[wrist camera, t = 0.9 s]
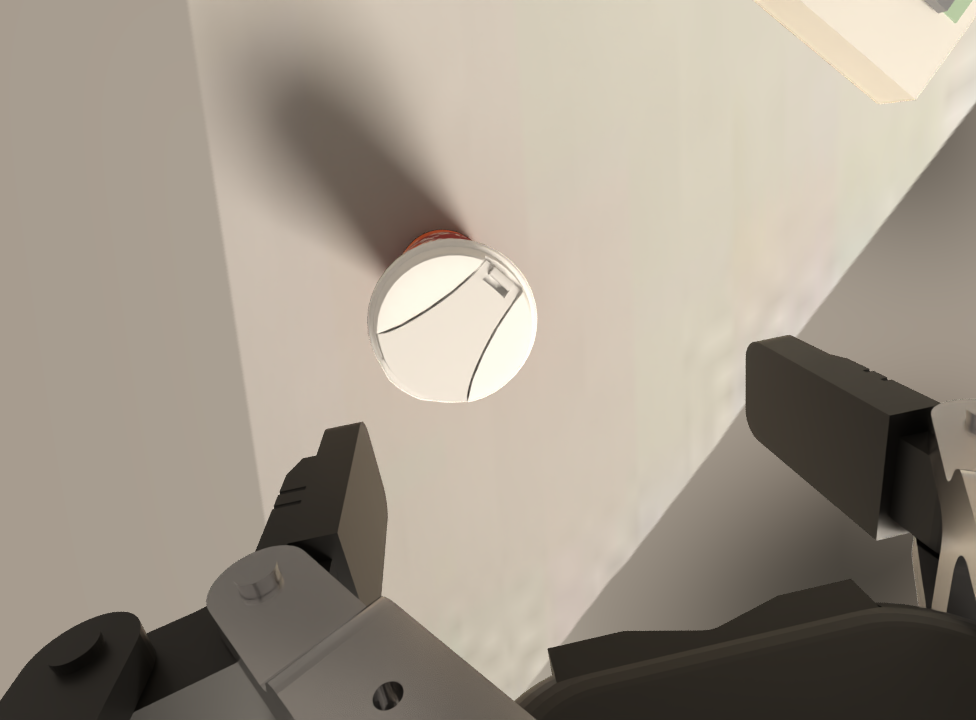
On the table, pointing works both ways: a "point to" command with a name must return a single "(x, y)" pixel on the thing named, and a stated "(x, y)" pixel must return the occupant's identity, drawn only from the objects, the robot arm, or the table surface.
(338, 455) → the robot arm
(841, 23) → the switch box
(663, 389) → the table surface
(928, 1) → the on lever
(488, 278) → the paper cup
